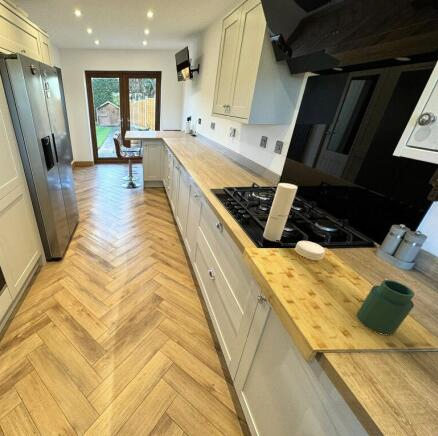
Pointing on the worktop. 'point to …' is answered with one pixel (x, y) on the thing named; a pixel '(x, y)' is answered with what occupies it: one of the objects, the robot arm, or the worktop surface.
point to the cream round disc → (310, 250)
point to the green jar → (386, 307)
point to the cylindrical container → (279, 211)
